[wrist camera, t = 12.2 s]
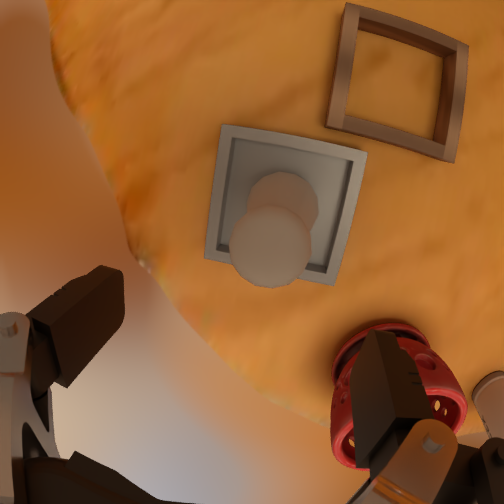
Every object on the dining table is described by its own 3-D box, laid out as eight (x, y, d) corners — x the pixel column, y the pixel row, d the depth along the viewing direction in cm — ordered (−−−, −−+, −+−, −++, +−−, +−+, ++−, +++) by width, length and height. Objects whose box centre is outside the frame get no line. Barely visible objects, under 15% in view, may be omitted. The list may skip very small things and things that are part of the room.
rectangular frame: (342, 14, 21) (346, 2, 18) (455, 52, 20) (468, 45, 17) (324, 127, 25) (326, 125, 22) (440, 160, 24) (454, 163, 21)
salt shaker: (264, 159, 26) (231, 176, 14) (327, 183, 26) (347, 222, 14) (243, 220, 28) (197, 282, 16) (302, 243, 28) (298, 322, 16)
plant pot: (331, 403, 36) (332, 481, 25) (323, 320, 32) (327, 405, 21) (427, 387, 33) (451, 459, 22) (439, 301, 29) (485, 373, 18)
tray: (228, 125, 26) (221, 123, 24) (362, 151, 25) (368, 152, 23) (211, 249, 31) (203, 258, 28) (332, 274, 30) (334, 286, 27)
